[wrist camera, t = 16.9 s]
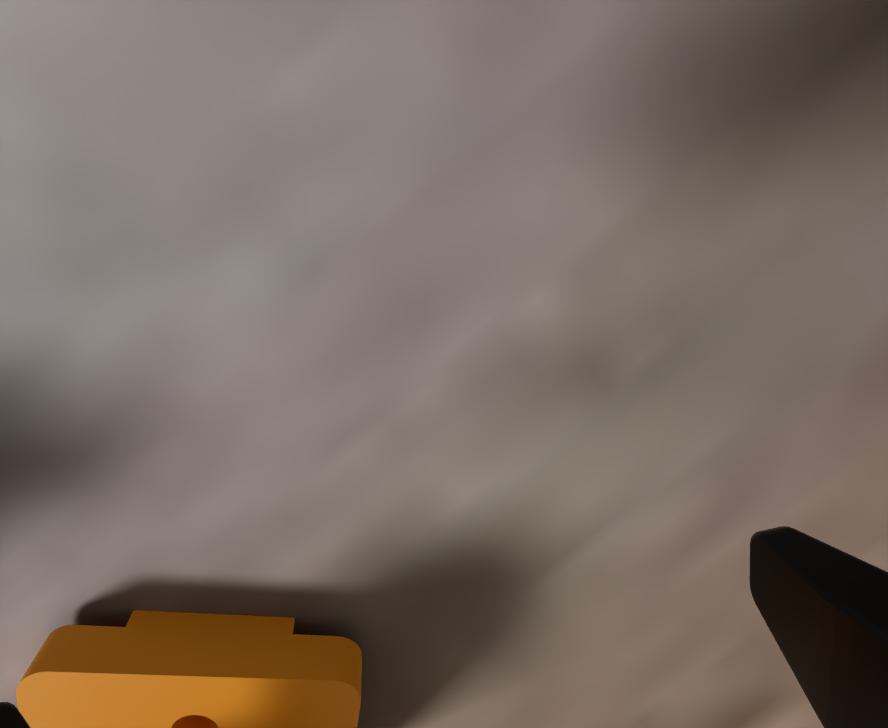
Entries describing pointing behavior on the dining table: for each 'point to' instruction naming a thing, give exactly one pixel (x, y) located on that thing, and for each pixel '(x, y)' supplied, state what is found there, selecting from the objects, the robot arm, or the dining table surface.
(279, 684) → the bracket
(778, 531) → the robot arm
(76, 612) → the dining table surface
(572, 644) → the dining table surface
